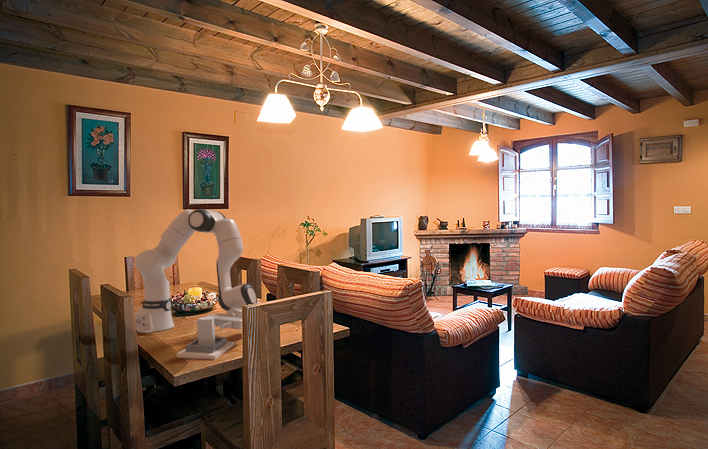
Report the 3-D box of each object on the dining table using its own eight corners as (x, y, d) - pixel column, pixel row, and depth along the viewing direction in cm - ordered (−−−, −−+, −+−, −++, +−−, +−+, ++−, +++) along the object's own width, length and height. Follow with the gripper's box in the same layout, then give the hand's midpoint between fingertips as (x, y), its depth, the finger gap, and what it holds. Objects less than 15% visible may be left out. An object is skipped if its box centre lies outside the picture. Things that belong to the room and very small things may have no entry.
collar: (185, 351, 169) (185, 345, 169) (200, 342, 180) (200, 336, 180) (213, 352, 167) (212, 346, 167) (226, 343, 178) (226, 337, 178)
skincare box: (215, 345, 176) (215, 316, 175) (213, 349, 171) (212, 319, 171) (200, 345, 175) (199, 316, 175) (197, 349, 171) (196, 319, 170)
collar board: (176, 357, 166) (176, 353, 166) (199, 343, 183) (199, 340, 183) (215, 359, 164) (215, 355, 164) (234, 345, 181) (234, 341, 181)
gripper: (217, 308, 193) (194, 315, 181) (253, 313, 184) (231, 320, 172) (218, 322, 193) (194, 330, 181) (253, 327, 184) (231, 336, 172)
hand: (212, 325), depth 176 cm, fingers open, 8 cm apart
